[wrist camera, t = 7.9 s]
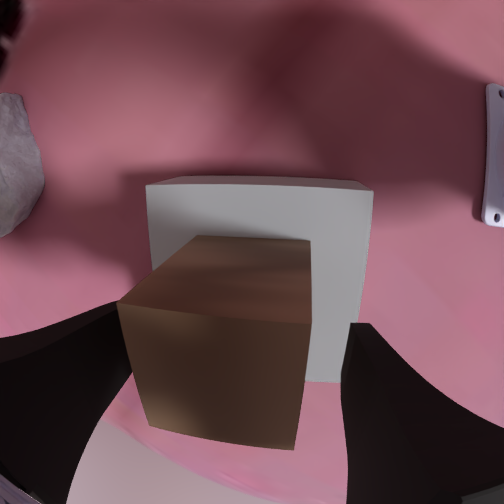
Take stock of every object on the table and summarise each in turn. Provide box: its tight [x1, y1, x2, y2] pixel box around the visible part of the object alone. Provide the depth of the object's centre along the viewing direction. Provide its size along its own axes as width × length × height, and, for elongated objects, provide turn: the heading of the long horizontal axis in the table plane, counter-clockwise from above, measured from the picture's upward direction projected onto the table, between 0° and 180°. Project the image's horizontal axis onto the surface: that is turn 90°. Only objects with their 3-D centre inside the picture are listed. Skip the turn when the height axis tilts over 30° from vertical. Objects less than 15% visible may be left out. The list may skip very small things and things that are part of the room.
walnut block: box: [116, 235, 312, 450], centre depth 10 cm, size 4×4×6 cm
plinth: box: [146, 176, 374, 383], centre depth 15 cm, size 9×9×4 cm
